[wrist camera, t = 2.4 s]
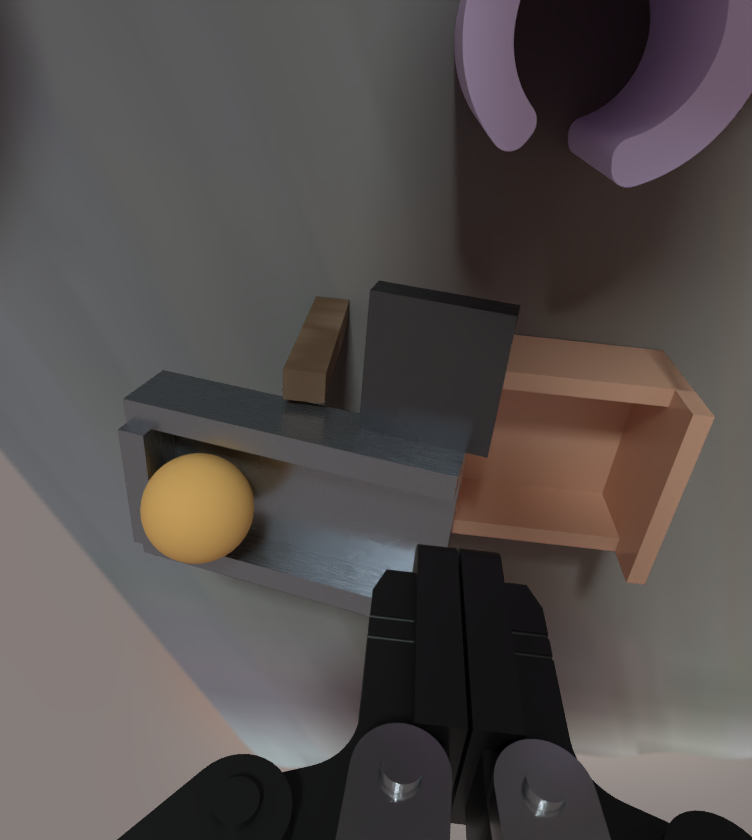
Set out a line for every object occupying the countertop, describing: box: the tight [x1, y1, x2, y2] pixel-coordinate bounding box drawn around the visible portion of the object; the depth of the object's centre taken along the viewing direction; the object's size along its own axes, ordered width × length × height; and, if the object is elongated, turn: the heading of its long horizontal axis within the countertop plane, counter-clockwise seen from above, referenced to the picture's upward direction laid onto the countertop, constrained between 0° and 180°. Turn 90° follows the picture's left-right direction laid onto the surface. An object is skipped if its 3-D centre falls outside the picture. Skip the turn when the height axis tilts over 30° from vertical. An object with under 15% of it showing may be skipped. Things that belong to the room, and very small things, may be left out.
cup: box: [452, 335, 715, 585], centre depth 28 cm, size 10×9×6 cm
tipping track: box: [118, 281, 520, 617], centre depth 22 cm, size 13×12×3 cm
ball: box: [140, 453, 254, 564], centre depth 23 cm, size 4×4×4 cm
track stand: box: [283, 297, 349, 403], centre depth 28 cm, size 2×10×8 cm, turn 175°
